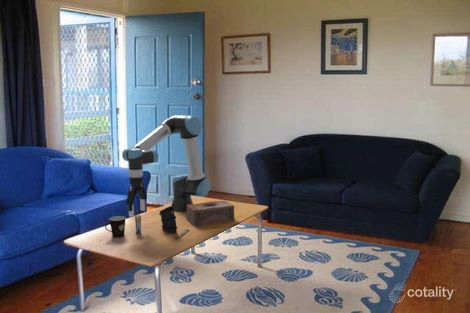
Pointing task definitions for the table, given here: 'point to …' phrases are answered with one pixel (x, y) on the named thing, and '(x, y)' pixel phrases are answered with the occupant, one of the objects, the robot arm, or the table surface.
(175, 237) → the strip
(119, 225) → the coffee mug
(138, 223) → the metal flashlight
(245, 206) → the table surface
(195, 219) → the tissue box cover
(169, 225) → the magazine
